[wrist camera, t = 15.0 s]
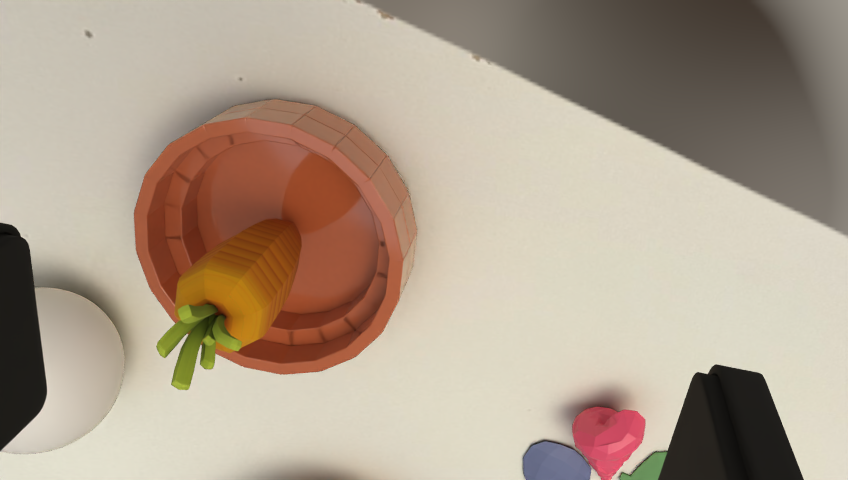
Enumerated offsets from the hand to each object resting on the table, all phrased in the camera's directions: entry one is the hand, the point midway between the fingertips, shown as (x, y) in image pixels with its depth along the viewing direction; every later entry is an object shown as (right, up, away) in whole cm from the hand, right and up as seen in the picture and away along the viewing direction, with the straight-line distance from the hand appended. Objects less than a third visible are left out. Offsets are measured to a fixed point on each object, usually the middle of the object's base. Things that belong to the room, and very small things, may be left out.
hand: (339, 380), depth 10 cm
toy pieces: (+13, -13, +40) cm, 44 cm away
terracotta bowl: (-7, +3, +36) cm, 37 cm away
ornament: (-23, -4, +43) cm, 49 cm away
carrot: (-7, +3, +36) cm, 36 cm away
